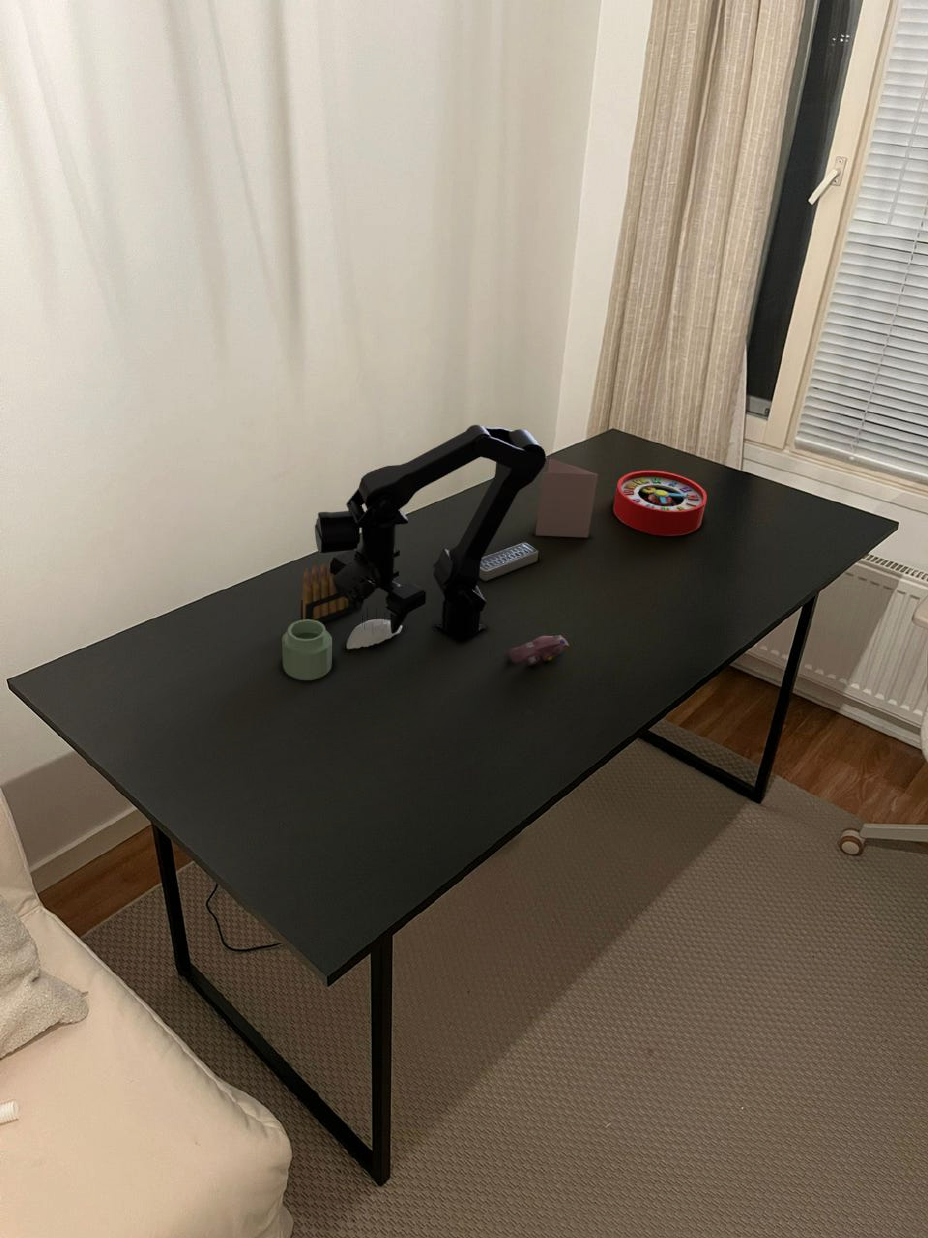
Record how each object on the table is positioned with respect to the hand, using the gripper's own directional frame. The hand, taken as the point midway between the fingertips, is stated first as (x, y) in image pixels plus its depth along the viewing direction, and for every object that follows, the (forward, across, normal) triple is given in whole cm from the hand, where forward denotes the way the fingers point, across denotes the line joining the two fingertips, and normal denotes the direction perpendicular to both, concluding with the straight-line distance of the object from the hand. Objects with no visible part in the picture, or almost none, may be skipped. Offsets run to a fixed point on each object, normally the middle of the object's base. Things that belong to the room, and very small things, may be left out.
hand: (376, 621), depth 177 cm
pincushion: (+4, 0, 0) cm, 4 cm away
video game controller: (+4, +24, +17) cm, 30 cm away
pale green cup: (+4, -2, -14) cm, 15 cm away
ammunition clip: (+4, -11, -2) cm, 12 cm away
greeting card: (+4, -2, +56) cm, 56 cm away
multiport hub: (+4, -1, +37) cm, 37 cm away
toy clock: (+4, +7, +81) cm, 81 cm away
